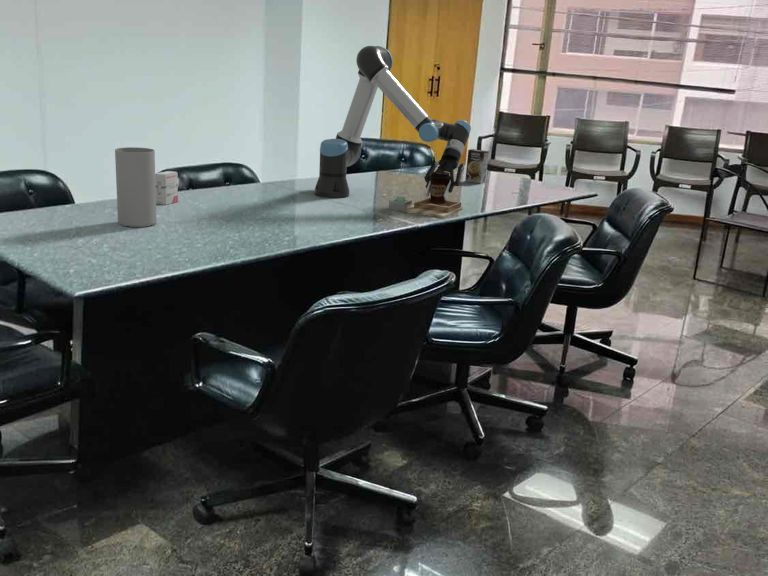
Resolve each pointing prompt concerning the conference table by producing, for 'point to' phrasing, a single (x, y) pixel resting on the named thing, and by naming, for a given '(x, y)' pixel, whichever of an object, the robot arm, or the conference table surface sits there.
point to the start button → (400, 199)
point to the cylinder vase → (136, 186)
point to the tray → (434, 208)
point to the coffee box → (477, 166)
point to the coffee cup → (439, 187)
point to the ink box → (166, 187)
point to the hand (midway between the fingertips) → (435, 196)
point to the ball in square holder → (399, 204)
